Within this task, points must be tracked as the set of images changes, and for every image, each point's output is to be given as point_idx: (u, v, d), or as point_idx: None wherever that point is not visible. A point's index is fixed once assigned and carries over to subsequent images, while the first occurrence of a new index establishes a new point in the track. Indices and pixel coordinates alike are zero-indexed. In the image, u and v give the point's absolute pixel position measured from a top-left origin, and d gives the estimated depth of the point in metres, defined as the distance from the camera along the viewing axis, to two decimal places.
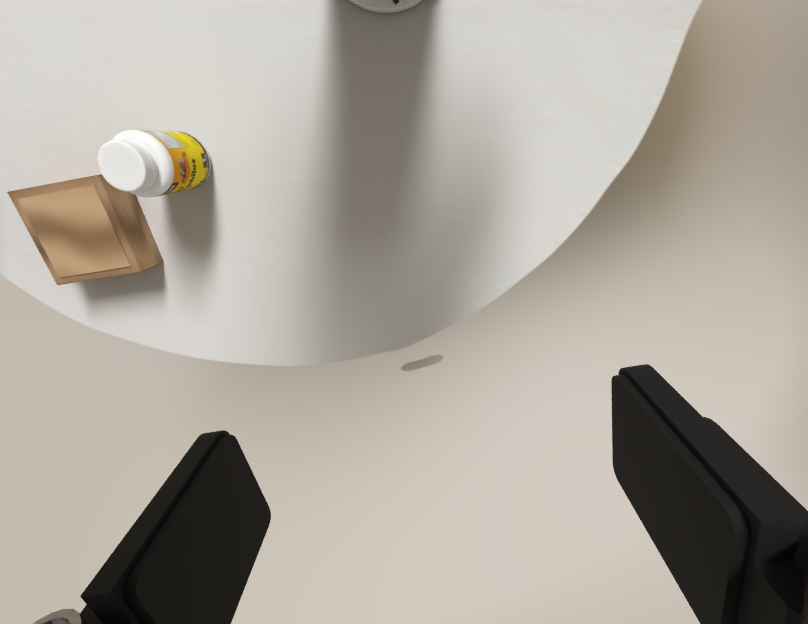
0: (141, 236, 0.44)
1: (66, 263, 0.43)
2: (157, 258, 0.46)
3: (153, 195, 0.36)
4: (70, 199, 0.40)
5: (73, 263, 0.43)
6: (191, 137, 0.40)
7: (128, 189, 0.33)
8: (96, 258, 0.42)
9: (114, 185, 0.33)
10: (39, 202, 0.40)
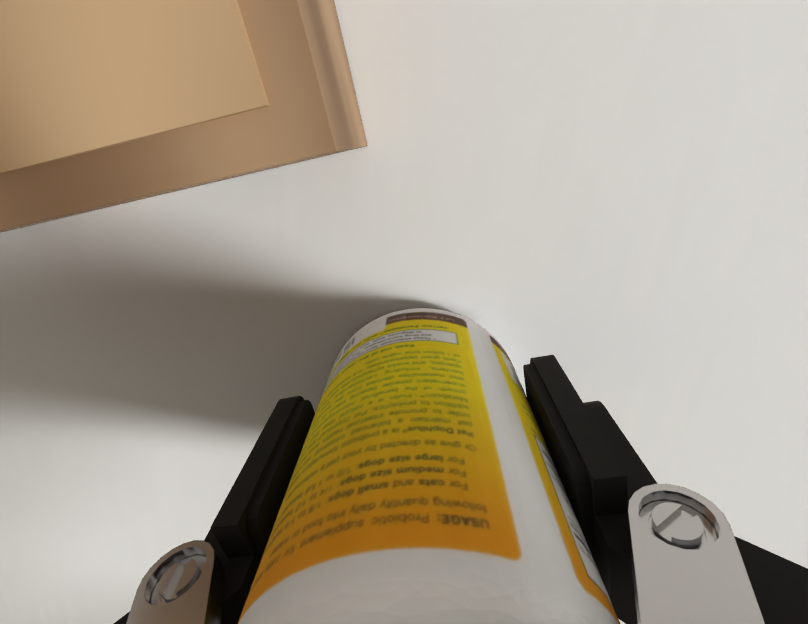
0: None
1: None
2: (10, 229, 0.10)
3: None
4: None
5: None
6: None
7: None
8: None
9: None
10: None
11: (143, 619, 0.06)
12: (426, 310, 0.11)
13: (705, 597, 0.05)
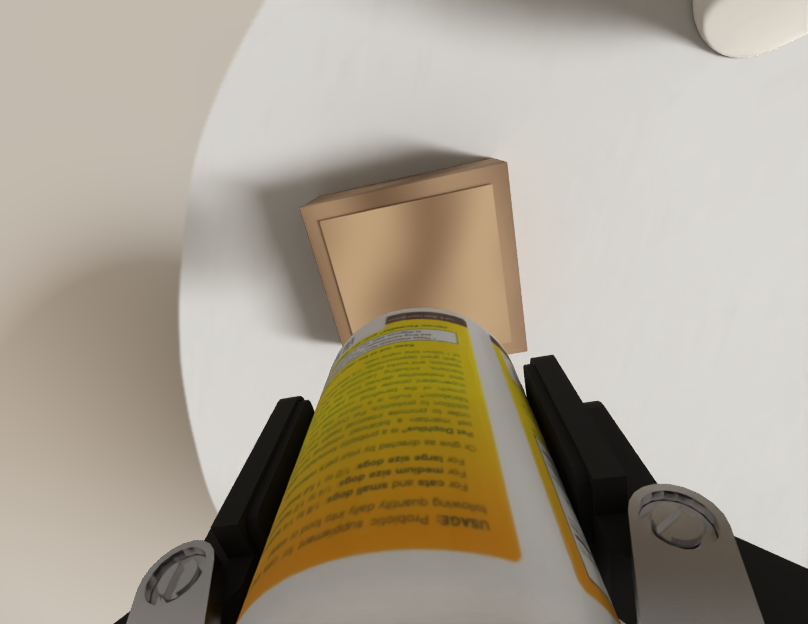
0: None
1: (354, 248, 0.20)
2: None
3: None
4: (487, 294, 0.21)
5: (356, 263, 0.20)
6: None
7: None
8: (373, 311, 0.21)
9: None
10: (481, 228, 0.20)
11: (143, 619, 0.06)
12: (426, 310, 0.11)
13: (705, 597, 0.05)
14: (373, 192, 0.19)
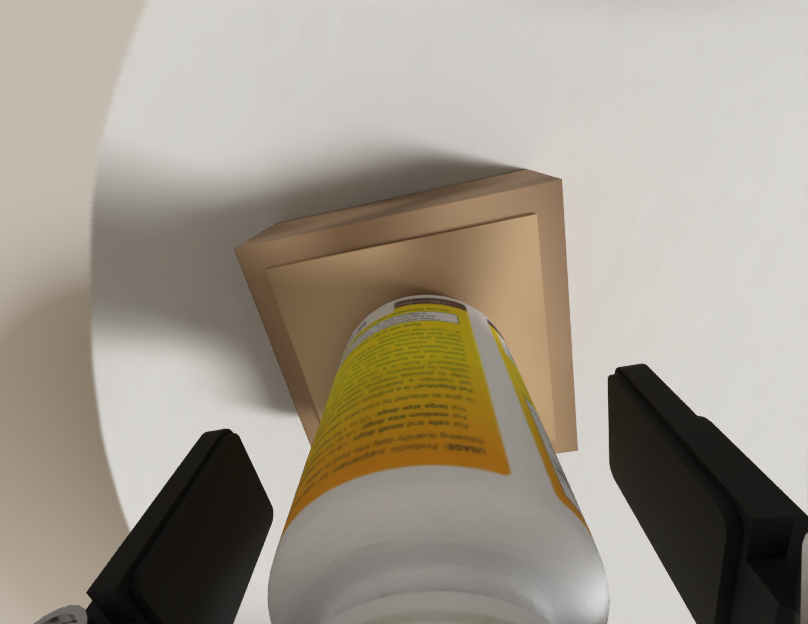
0: None
1: (321, 308, 0.13)
2: None
3: None
4: (523, 375, 0.14)
5: (324, 330, 0.13)
6: None
7: None
8: None
9: None
10: (517, 280, 0.13)
11: None
12: (430, 296, 0.12)
13: None
14: (348, 225, 0.12)
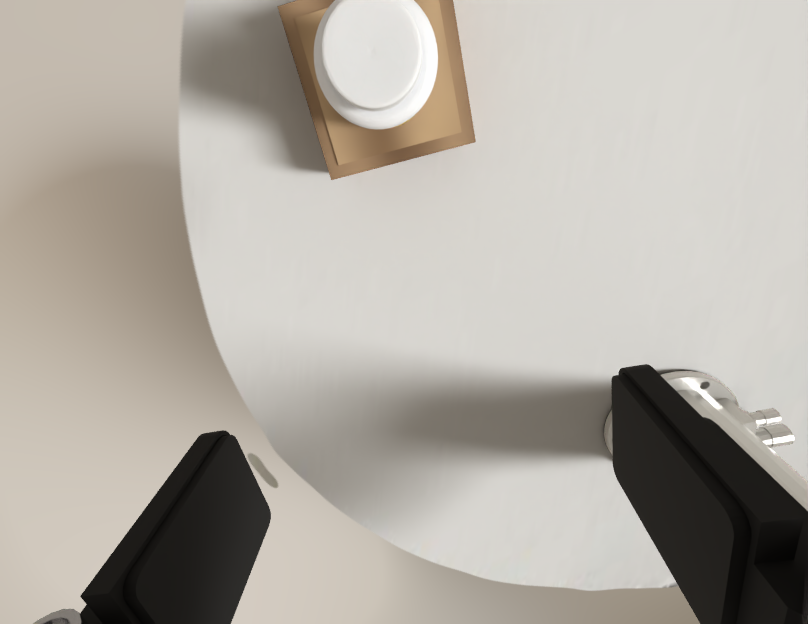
0: None
1: None
2: None
3: (320, 85, 0.18)
4: (438, 85, 0.25)
5: None
6: None
7: (326, 59, 0.16)
8: None
9: (329, 25, 0.15)
10: (429, 19, 0.24)
11: None
12: None
13: None
14: None
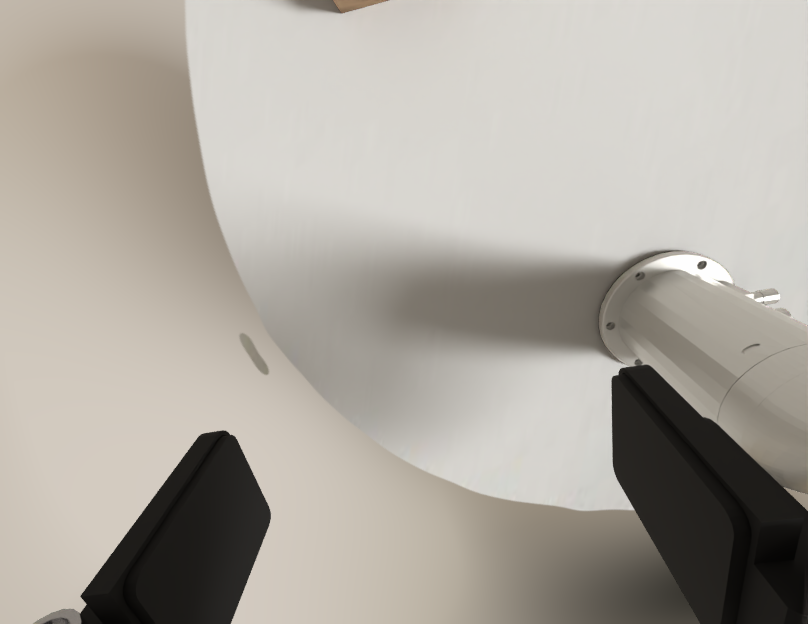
0: None
1: None
2: (346, 9, 0.31)
3: None
4: None
5: None
6: None
7: None
8: None
9: None
10: None
11: None
12: None
13: None
14: None
